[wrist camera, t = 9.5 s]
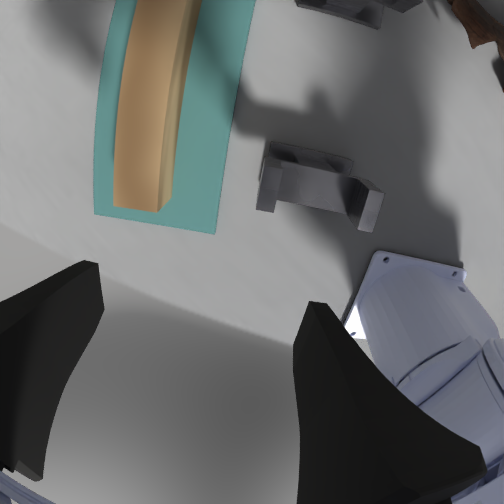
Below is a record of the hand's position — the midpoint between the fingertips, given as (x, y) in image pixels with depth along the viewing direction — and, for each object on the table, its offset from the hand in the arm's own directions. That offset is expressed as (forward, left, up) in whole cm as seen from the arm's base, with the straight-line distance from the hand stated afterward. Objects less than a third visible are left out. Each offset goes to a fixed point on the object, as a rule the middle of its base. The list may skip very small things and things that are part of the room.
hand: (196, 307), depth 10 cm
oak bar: (+5, -9, -10) cm, 14 cm away
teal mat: (+5, -9, -10) cm, 15 cm away
